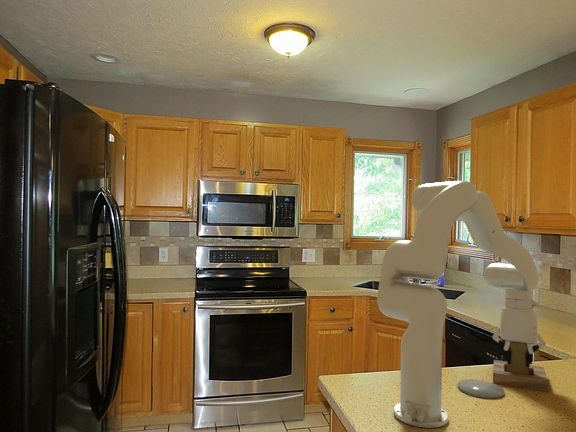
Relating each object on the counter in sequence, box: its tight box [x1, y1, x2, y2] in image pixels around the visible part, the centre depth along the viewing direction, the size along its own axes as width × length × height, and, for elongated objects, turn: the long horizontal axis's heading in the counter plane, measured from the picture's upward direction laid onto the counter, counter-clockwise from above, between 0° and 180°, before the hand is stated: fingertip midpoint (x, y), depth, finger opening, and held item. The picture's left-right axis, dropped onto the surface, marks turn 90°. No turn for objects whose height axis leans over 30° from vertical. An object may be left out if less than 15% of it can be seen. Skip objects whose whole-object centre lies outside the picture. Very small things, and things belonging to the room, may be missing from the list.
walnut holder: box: [492, 359, 549, 393], centre depth 128 cm, size 14×14×3 cm
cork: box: [507, 341, 529, 375], centre depth 128 cm, size 6×6×11 cm
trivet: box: [457, 378, 505, 400], centre depth 120 cm, size 12×12×1 cm
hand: (518, 363), depth 128 cm, fingers closed on cork, 4 cm apart
